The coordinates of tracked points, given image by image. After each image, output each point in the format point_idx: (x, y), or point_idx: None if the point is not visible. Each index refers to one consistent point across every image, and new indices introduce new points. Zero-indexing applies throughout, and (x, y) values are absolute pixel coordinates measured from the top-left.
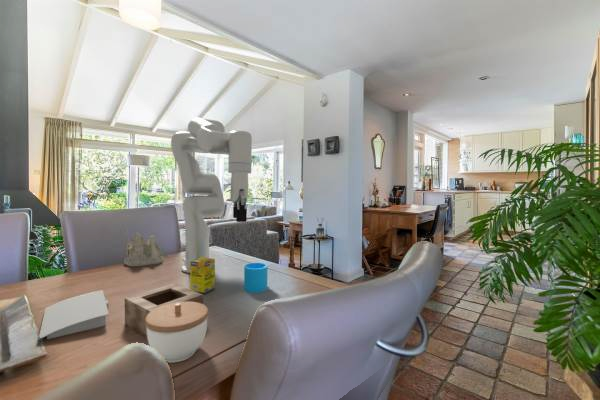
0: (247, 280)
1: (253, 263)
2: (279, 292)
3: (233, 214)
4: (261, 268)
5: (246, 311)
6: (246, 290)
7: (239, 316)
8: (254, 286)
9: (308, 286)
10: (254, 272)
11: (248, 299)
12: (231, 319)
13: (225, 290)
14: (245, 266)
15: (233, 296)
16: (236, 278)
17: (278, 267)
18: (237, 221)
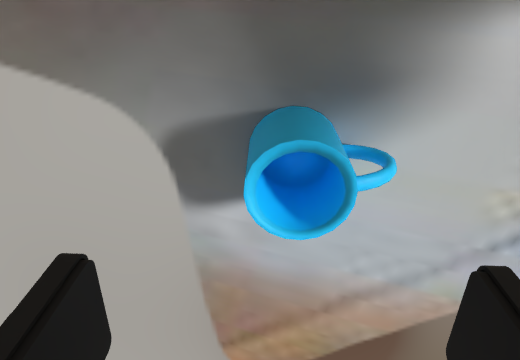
0: (269, 129)
1: (347, 190)
2: (227, 215)
3: (507, 298)
4: (250, 207)
5: (84, 81)
6: (273, 112)
7: (46, 51)
8: (249, 146)
9: (254, 304)
10: (246, 170)
11: (188, 104)
12: (24, 20)
13: (311, 26)
14: (307, 145)
15: (232, 52)
16: (448, 93)
17: None
18: (62, 261)
